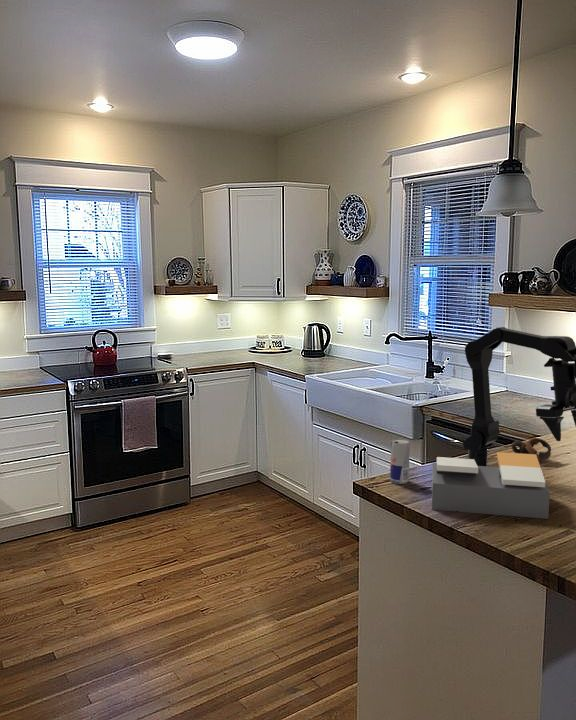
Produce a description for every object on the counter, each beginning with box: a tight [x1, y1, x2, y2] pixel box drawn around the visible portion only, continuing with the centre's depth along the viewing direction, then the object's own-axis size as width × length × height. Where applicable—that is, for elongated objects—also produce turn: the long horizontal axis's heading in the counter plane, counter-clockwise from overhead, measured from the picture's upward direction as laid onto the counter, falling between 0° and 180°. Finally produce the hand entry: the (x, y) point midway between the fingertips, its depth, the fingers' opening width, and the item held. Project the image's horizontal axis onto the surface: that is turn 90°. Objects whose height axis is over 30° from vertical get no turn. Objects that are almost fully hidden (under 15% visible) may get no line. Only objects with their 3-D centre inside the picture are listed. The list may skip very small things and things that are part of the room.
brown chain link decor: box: [510, 437, 552, 463], centre depth 206 cm, size 12×10×8 cm
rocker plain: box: [436, 456, 478, 473], centre depth 170 cm, size 16×10×1 cm, turn 167°
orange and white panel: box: [496, 451, 546, 487], centre depth 166 cm, size 16×10×1 cm, turn 167°
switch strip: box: [431, 462, 551, 520], centre depth 169 cm, size 18×28×8 cm, turn 77°
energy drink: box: [389, 438, 411, 485], centre depth 185 cm, size 5×5×12 cm
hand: (569, 438), depth 177 cm, fingers open, 9 cm apart
